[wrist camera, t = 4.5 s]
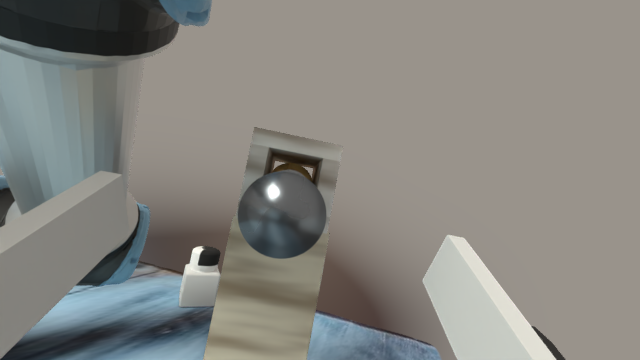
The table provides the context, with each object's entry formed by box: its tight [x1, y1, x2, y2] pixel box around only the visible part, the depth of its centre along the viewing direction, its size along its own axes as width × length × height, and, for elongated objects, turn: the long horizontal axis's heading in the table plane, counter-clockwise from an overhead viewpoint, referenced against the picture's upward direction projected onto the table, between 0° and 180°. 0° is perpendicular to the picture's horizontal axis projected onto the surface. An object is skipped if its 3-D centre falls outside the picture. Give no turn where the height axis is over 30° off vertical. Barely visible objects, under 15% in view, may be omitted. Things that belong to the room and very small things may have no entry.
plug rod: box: [238, 163, 326, 259], centre depth 23 cm, size 26×4×4 cm, turn 6°
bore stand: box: [203, 127, 343, 360], centre depth 28 cm, size 12×12×33 cm
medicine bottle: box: [179, 246, 220, 307], centre depth 61 cm, size 7×7×12 cm
